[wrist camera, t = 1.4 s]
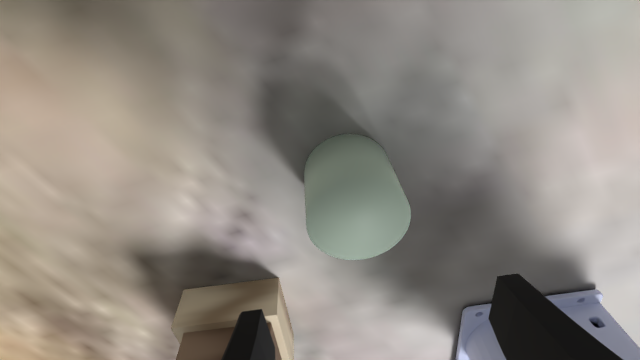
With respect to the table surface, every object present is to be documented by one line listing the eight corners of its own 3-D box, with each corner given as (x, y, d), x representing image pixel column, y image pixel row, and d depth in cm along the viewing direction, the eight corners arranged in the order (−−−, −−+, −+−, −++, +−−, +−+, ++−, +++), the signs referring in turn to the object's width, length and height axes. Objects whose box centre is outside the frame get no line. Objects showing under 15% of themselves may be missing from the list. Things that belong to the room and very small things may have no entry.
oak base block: (278, 273, 22) (276, 314, 20) (293, 330, 25) (293, 372, 23) (184, 286, 22) (170, 328, 20) (211, 341, 25) (202, 383, 23)
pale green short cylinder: (388, 127, 17) (412, 170, 13) (390, 200, 19) (410, 252, 16) (297, 140, 17) (298, 186, 13) (310, 211, 19) (314, 266, 16)
